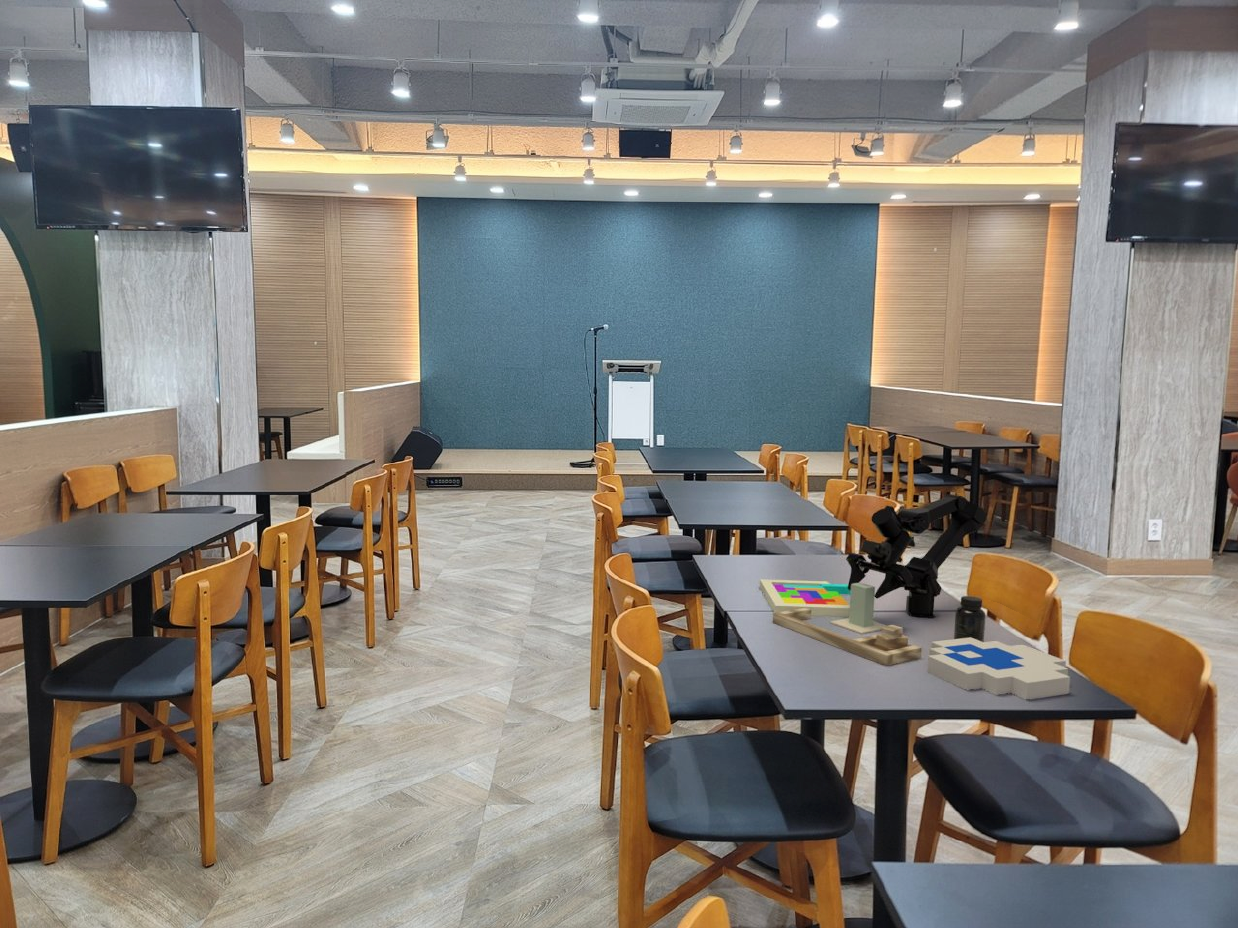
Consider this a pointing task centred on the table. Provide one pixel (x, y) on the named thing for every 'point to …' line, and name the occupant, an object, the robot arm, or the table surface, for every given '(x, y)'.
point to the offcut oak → (892, 641)
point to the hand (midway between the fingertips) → (861, 593)
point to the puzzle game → (806, 596)
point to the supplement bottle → (970, 619)
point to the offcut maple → (892, 631)
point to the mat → (858, 629)
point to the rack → (844, 639)
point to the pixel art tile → (998, 668)
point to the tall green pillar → (861, 604)
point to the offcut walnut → (888, 647)
